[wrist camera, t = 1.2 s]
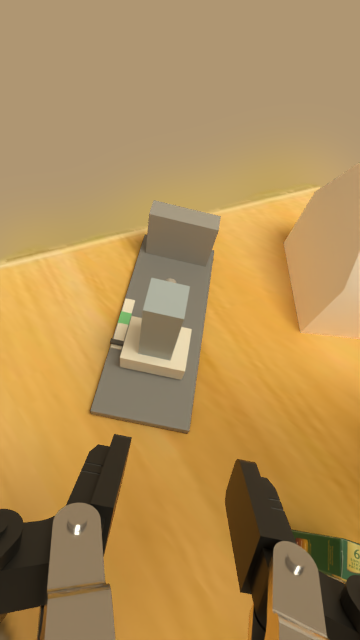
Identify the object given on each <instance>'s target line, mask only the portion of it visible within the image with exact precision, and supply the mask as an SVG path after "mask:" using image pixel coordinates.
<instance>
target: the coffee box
mask: <svg viewBox="0 0 360 640" xmlns="http://www.w3.org/2000/svg"><path fill="white" fill-rule="evenodd" d="M292 533H293V535H294V538H295V540H296V543H297V545H298V546H300V547H302V548H303V549H304V550H305V551H306V552H307V553H308V554H309V555H310V556H311V557H312V559H313V560H314V562H315V564H316V566H317V568H318V570H319V571H320V572H322V573H324V574H326V575H328V576H330V577H332V578H334V579H336V580H338V581H340V582H343V583H346V581H347V579H348V578H349V577H350V576H352V575H360V544H358V543H355V542H352V541H349V540H346V539H343V538H337V537H330V536H325V535H319V534H312V533H307V532H301V531H295V530H292Z"/></svg>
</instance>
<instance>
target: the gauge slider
mask: <svg viewBox="0 0 360 640" xmlns="http://www.w3.org/2000/svg"><path fill="white" fill-rule="evenodd" d="M189 289H190V286H186V285H182V284H177V283H176V281H175V280H174V279H171V278H169V279H166V281H164V280H160V279H155V278H151V281H150V285H149V289H148V293H147V296H146V300H145V304H144V308H143V313H142V318H139V317H135V316H132V317H131V320H130V324H129V327H128V331H127V334H126V338H125V341H121V340H116V339H112V338H111V341H110V344H114V345H118V346H123V348H122V352H121V355H120V367H122V368H127V369H132V370H137V371H141V372H146V373H151V374H156V375H160V376H165V377H170V378H174V379H179V380H181V379H182V377H183V375H184V373H185V369H186V363H187V357H188V350H189V344H190V338H191V332H192V329H189V328H185V327H182V324H183V321H184V317H185V312H186V306H187V301H188V295H189Z"/></svg>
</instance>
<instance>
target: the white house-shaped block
mask: <svg viewBox="0 0 360 640" xmlns="http://www.w3.org/2000/svg"><path fill="white" fill-rule="evenodd" d="M284 249H285V254H286V259H287V265H288V270H289V275H290V281H291V286H292V291H293V297H294V302H295V307H296V313H297V318H298V323H299V329H300V333H309V334H318V335H327V336H336V337H346V338H355V339H360V162H359V163H358V164H356V165H355V166H353V167H352V168H350V169H349V170H347V171H346V172H344V173H343V174H341V175H340V176H338V177H337V178H335V179H334V180H332V181H331V182H329V183H328V184H326V185H325V186H323V187H322V188H320V189H319V190H317V191H316V192H315V193H314V195H313V196H312V198H311V199H310V201H309V203H308V204H307V206H306V208H305V209H304V211H303V212H302V214H301V216H300V217H299V219H298V221H297V222H296V224H295V225H294V227H293V229H292V230H291V232H290V233H289V235H288V237H287V238H286V240H285V242H284Z"/></svg>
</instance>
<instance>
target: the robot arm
mask: <svg viewBox="0 0 360 640" xmlns="http://www.w3.org/2000/svg"><path fill="white" fill-rule="evenodd" d="M130 443H131V437H126V436H121V435H116V434H114V436H113V439H112V442H111V445H110V447H109V446H104V445H99V444H98V445H97V446H96V447H95V448H93V449H92V450H91V451H90V452H89V454H88V456H87V459H86V461H85V464H84V466H83V468H82V470H81V472H80V475H79V477H78V479H77V482H76V484H75V486H74V488H73V491H72V493H71V495H70V498H69V500H68V502H67V504H66V506H65V507H63V508H62V509H61V510H59V511H58V513H57V514H56V515H55V516H53V517H51V518H49V519H46V520H42V521H35V522H27V523H23V520H22V518H21V516H20V515H19V514H18V513H16V512H15V511H12V510H8V509H0V623H1V622H2V620H3V619H4V618H5V616H6V615H7V613H10V612H15V611H19V610H24V609H29V608H34V607H39V606H40V613H39V623H38V633H37V640H115V630H114V618H113V606H112V595H111V588H110V585H109V584H106V583H105V574H104V560H103V557H104V553H105V549H106V545H107V541H108V537H109V533H110V529H111V525H112V521H113V516H114V512H115V508H116V504H117V500H118V496H119V492H120V488H121V484H122V479H123V475H124V471H125V466H126V461H127V457H128V452H129V448H130ZM225 506H226V512H227V518H228V524H229V529H230V535H231V541H232V547H233V553H234V558H235V564H236V570H237V576H238V582H239V587H240V592H242V593H248V594H252V598H253V605H252V608H251V610H250V615H249V628H248V640H360V575H352V576H350V577H349V578H348V579H347V581H346V583H345V584H344V583H342V582H340V581H338V580H336V579H334V578H332V577H330V576H328V575H326V574H324V573H322V572H320V571H319V570H318V568H317V566H316V564H315V562H314V560H313V559H312V557H311V556H310V555H309V554H308V553H307V552H306V551H305V550H304V549H303V548H302V547H300V546H298V545H297V543H296V540H295V538H294V535H293V533H292V530H291V528H290V525H289V522H288V520H287V517H286V515H285V512H284V511H283V507H282V504H281V502H280V499H279V497H278V494H277V492H276V489H275V488H274V486H273V485H272V484H271V483H270V481H269V480H268V479H267V478H264V477H261V476H260V473H259V470H258V467H257V465H256V463H255V462H250V461H245V460H240V459H237V460H236V462H235V464H234V468H233V471H232V474H231V477H230V480H229V484H228V487H227V490H226V497H225Z"/></svg>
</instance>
